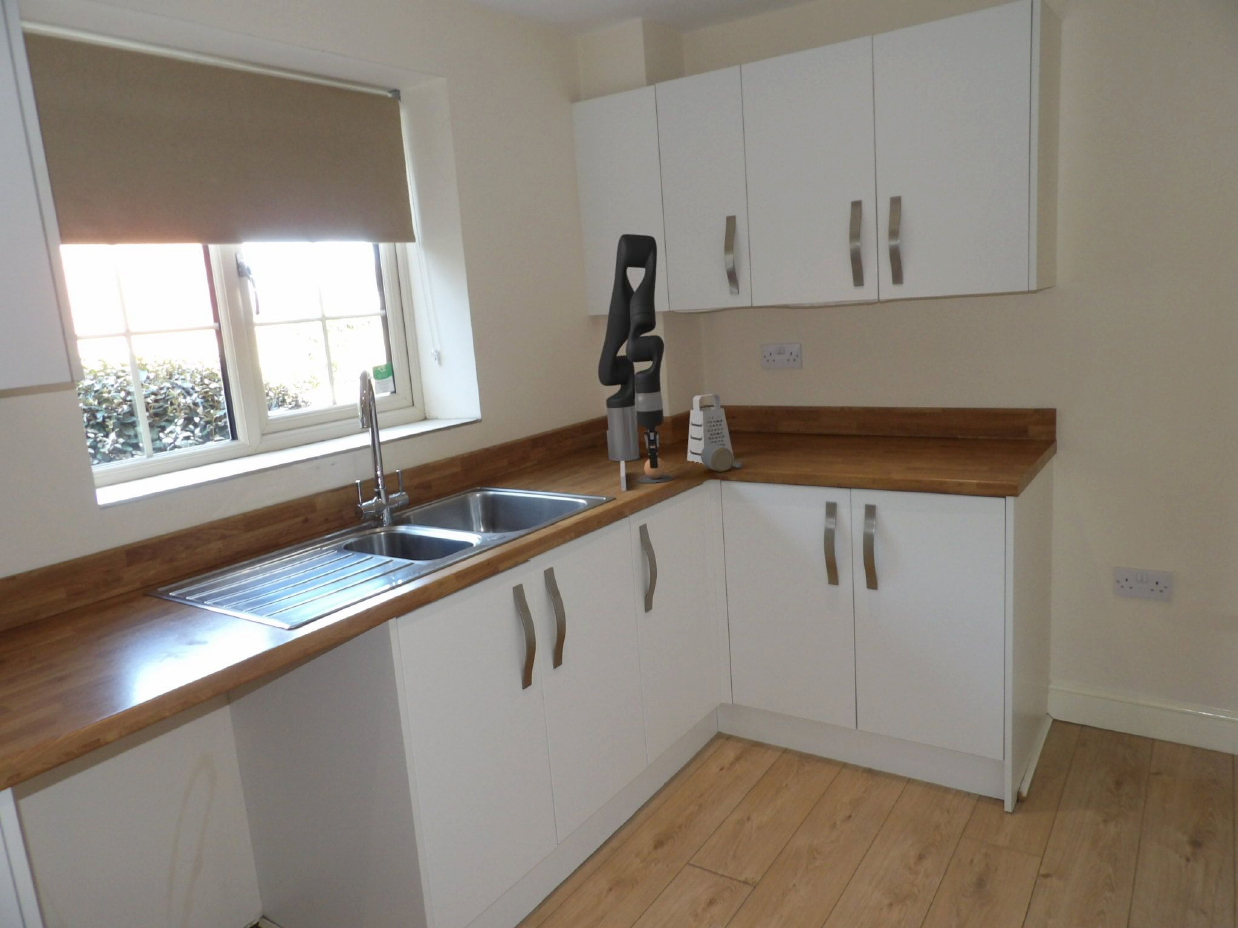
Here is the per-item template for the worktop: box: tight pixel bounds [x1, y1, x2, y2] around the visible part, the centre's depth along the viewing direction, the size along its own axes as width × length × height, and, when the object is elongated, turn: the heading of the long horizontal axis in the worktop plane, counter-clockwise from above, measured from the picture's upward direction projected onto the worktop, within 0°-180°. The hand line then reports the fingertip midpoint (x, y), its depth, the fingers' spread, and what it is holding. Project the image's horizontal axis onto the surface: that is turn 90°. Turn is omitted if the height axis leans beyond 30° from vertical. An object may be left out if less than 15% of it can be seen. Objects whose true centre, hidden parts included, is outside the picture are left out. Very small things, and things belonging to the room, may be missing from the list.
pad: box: [637, 474, 674, 484], centre depth 253 cm, size 10×10×1 cm
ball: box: [643, 457, 667, 479], centre depth 253 cm, size 6×6×6 cm
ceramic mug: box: [701, 443, 742, 473], centre depth 259 cm, size 11×8×8 cm
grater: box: [686, 393, 735, 465], centre depth 275 cm, size 10×10×20 cm
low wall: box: [619, 461, 627, 492], centre depth 253 cm, size 24×1×4 cm, turn 0°
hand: (653, 465), depth 253 cm, fingers open, 8 cm apart
